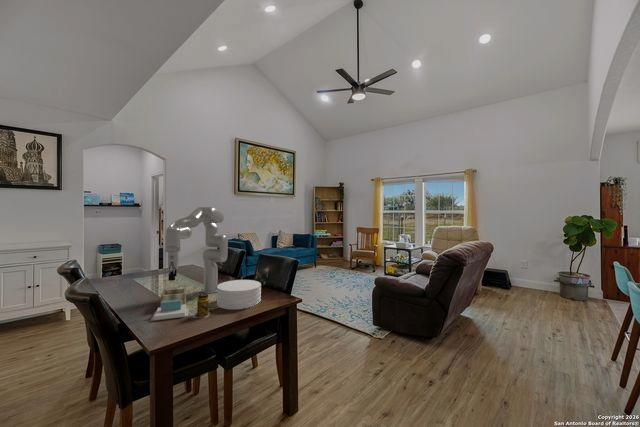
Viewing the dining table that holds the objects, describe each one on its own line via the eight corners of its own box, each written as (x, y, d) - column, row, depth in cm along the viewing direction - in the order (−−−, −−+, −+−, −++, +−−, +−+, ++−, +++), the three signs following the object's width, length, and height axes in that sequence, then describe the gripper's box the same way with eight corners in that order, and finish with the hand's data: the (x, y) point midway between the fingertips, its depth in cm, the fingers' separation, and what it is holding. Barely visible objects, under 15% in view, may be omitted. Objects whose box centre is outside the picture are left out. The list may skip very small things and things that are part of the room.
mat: (189, 309, 167) (189, 308, 167) (187, 316, 155) (187, 315, 155) (154, 312, 159) (154, 311, 159) (151, 321, 147) (151, 319, 147)
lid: (186, 307, 167) (186, 296, 167) (184, 316, 153) (184, 303, 153) (158, 310, 161) (158, 298, 161) (154, 320, 147) (154, 306, 147)
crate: (185, 301, 179) (186, 288, 179) (184, 308, 167) (184, 293, 167) (163, 304, 174) (163, 290, 174) (160, 311, 162) (160, 295, 162)
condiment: (208, 317, 154) (208, 296, 154) (191, 318, 152) (192, 297, 152) (210, 312, 161) (210, 292, 161) (194, 313, 159) (195, 293, 159)
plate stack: (269, 302, 182) (269, 285, 182) (230, 313, 162) (231, 293, 162) (245, 293, 201) (246, 277, 201) (208, 302, 180) (209, 284, 180)
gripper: (179, 250, 152) (178, 281, 152) (181, 246, 167) (180, 274, 168) (163, 251, 149) (163, 282, 149) (167, 247, 164) (167, 275, 165)
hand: (172, 278), depth 158 cm, fingers open, 9 cm apart
